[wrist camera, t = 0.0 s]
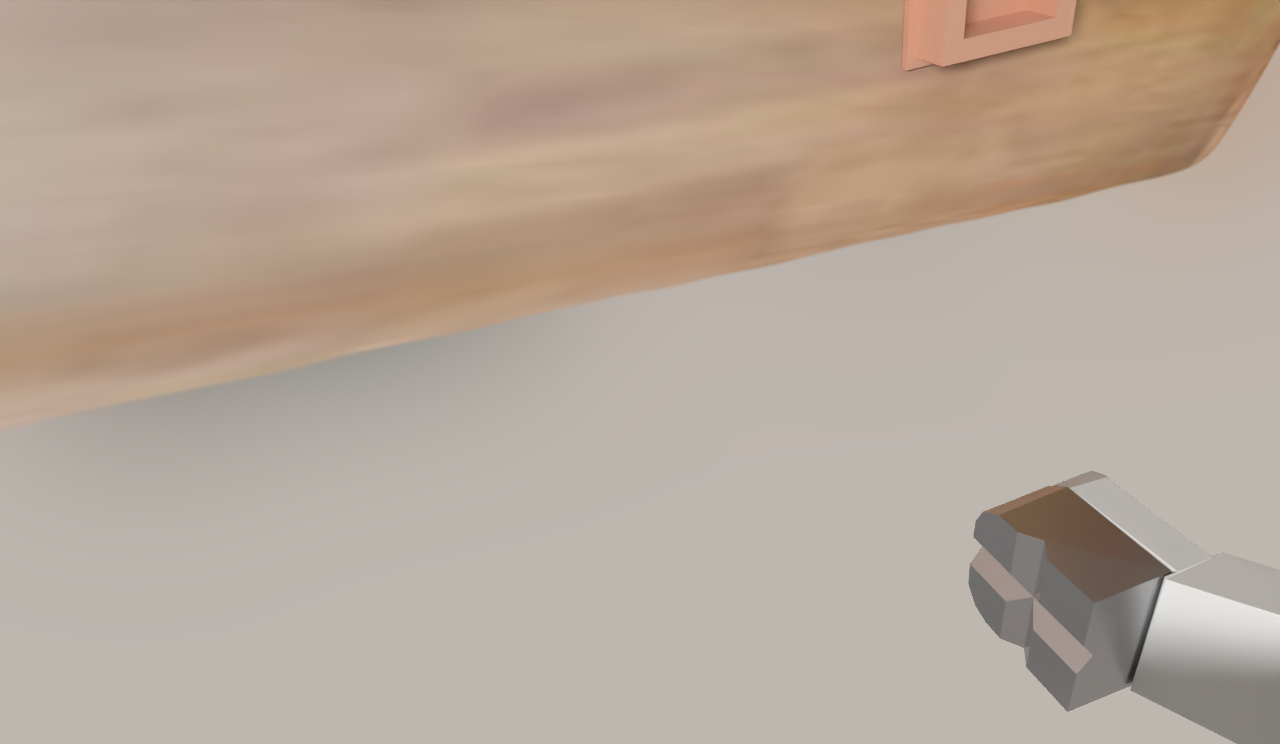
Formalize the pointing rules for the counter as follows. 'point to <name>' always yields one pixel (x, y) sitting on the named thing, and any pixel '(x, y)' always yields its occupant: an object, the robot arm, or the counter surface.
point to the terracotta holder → (979, 28)
